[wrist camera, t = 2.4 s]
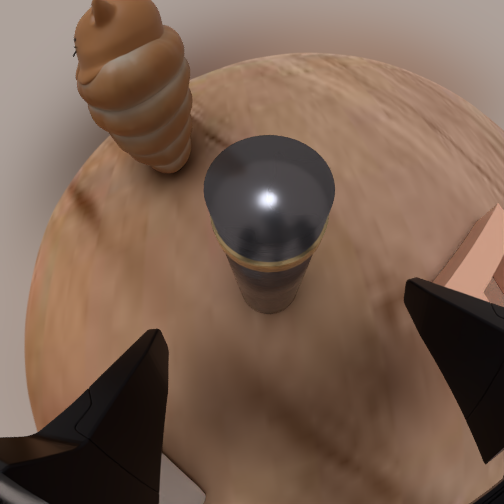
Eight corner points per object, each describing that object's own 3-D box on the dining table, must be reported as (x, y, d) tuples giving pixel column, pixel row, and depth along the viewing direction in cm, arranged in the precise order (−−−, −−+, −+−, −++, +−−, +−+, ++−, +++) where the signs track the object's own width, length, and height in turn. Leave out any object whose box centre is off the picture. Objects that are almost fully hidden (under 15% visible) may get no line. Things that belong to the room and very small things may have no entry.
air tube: (263, 327, 19) (255, 277, 7) (228, 281, 21) (176, 175, 9) (309, 291, 20) (365, 194, 8) (274, 248, 21) (278, 117, 9)
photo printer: (217, 495, 15) (171, 598, 3) (182, 517, 14) (121, 604, 2) (123, 403, 18) (2, 424, 6) (94, 429, 17) (-19, 455, 5)
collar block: (481, 396, 15) (509, 398, 12) (416, 301, 19) (442, 288, 16) (530, 306, 18) (554, 297, 14) (476, 221, 21) (498, 203, 18)
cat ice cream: (129, 152, 26) (53, 10, 9) (197, 122, 27) (155, -35, 10) (145, 217, 23) (25, 44, 6) (227, 181, 24) (182, -29, 7)
